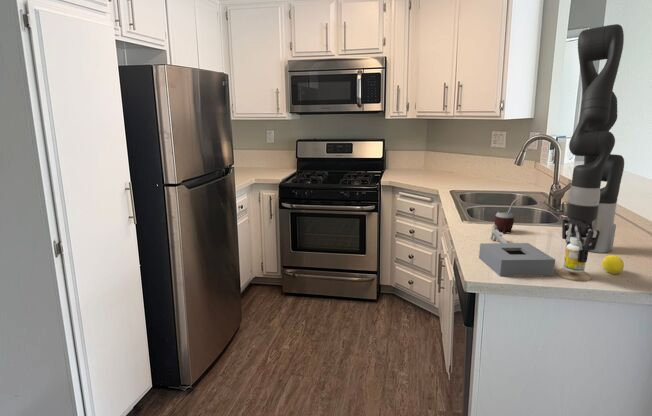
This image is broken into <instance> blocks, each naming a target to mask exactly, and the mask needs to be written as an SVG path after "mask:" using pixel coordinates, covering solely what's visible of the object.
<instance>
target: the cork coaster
mask: <svg viewBox="0 0 652 416" xmlns="http://www.w3.org/2000/svg"><path fill="white" fill-rule="evenodd" d="M555 274H556V275H557V276H559V277H560V278H562V279H565V280H568V281H573V282H574V281H575V282H588V281H590V279H591V280H592V274H590V273H588V272H586V271H585V270H584V272H582V273H575V272H570V271H567V270H566V269H565V268H564V267H561V268H558V269H556V270H555Z"/></svg>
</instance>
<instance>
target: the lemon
mask: <svg viewBox="0 0 652 416" xmlns="http://www.w3.org/2000/svg"><path fill="white" fill-rule="evenodd" d="M624 265H625V264H624V261H623V259H622V258H621V257H619V256H618V255H611V254H610V255H607V256H605V257H604V258H603V260H602V263H601V266H602V267H603V268H602V269H603V270H604V271H605V272H607V273H608V272H609V274H612V275H615V274H616V275H617V274H619V273H621V272H622V271H624V267H625V266H624Z"/></svg>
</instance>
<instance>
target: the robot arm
mask: <svg viewBox="0 0 652 416" xmlns="http://www.w3.org/2000/svg"><path fill="white" fill-rule="evenodd" d="M577 37H578V39H577V54H578V55H577V56H578V61H579V69H580V77H581V91H582V93H581V95H582V99H581V103H580V104H581V105H580V114H579V118H578V119H579V120H578V122H577V126H576V128H575V130H574V131H573V134H572V135H571V138H570V140H569V143H568V150H569V151H570V153H571V154H572V155H573V156H576V157H583V164H578V165H575V166H574V168H573V171H572V180H571V186H570V188H569V189H570V190H569V193H568V201H567V208H566V217H567V219H566V218H565V219H561V221H562V223H561V225H562V226H561V229H562V230H561V233H562V234H561V238H562V239H563V240H565V243H566V247H567V245H568V244H570V238H571V237H577V241H578V242H579V248H580V250H579V254H578V262H580V263H585V262H586V263H587V261H588V256H589V252H591V253H599V254H600V253H603V254H604V253H609V252H613V247H614V243H615V242H614V240H615V236H616V235H615V234H616V227H617V225H616V224H615V217H616V216H615V215H616V211H617V202H618V197H619V192H620V188H621V187H620V186H621V183H622V177H623V174H624V169H625V158H624V157H623V155H621V154H615V153H614V154H613V153H612V152H613V149H614V147H615V144H616V138H615V136H614V134H613V133H612V132H611V131H610V130H611V129H612V128H613V127H614V126H615V123H616V122H617V119H618V98H617V95H616V94H615V93H614V85H615V82H616V80H617V79H616V78H617V75H618V70H619V67H620V63H621V58H622V55H623V50H624V43H625V42H624V41H625V39H624V38H625V35H624V29H623V26H622V25H621V24H618V23H617V24H609V25H603V26H597V27H592V28H586V29H583V30H581V31H580V33H579V35H578V36H577ZM602 60H606V62H605V64H604V66H603V68H601V71H600V72H599V73H598V71H597V70H596V67H595V65H594V61H602ZM602 182H606V184H605V186H604V187H602V188H601V184H602ZM582 238H585V239H582ZM583 242H585V245H584V246H583ZM586 263H585V264H586Z"/></svg>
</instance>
